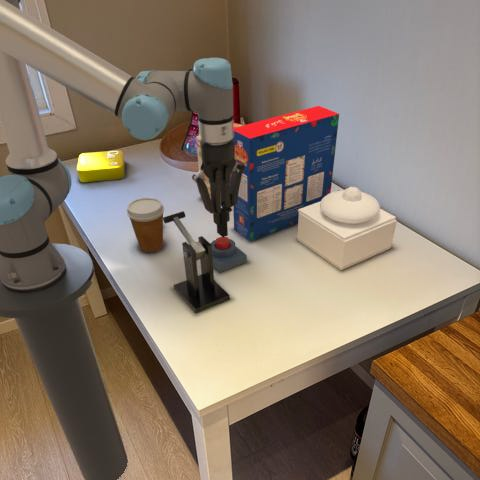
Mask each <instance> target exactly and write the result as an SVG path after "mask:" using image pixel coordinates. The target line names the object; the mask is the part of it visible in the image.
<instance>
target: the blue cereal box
mask: <svg viewBox="0 0 480 480" xmlns="http://www.w3.org/2000/svg"><path fill="white" fill-rule="evenodd" d="M339 119H340V113H339V112H336V111H333V110H331V109H329V108H326V107H323V106H320V105H316V106H312V107H308V108H303V109H301V110H297V111H293V112H289V113H284V114H282V115H278V116H274V117H270V118H265V119H263V120H259V121H255V122H251V123H248V124H247V123H246V124H242V125H243V126H239V127H235V128H234V137H233V139H234V144H235V156H234V158H235V160H236V162H239V163H241V164H242V165H244V166H245V169H244V172H243V174H242V176H241V182H240V187H239V193H238V198H237V204H236V206H232V207H233V208H232V211H233V230H234V231H235V232H236V233H238V234H239V235H241V236H242V237H243V238H244V239H246V241H248V242H250V243H252V242H254V241H257V240H259V239H262V238H265V237H267V236H270V235H272V234H276V233H277V232H280V231H283V230H285V229H289V228H291V227H293V226H295V225H298V218H299V212H298V209H301V208H304V207H306V206H309V205H312V204H315V203H317V202H320V201H321V200H322V199H323V198H324V197H325V196H326V195H328V194H330V193H332V185H333V184H332V183H333V174H334V166H335V158H336V157H335V156H336V149H337V139H338V130H339Z"/></svg>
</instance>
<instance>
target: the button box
mask: <svg viewBox="0 0 480 480" xmlns="http://www.w3.org/2000/svg"><path fill="white" fill-rule="evenodd" d="M215 240H216V239H214V240H212V241H211V242H209V243H210V244H211V245H212V256H213V268H214V269H216V270H217V272H219V273H222V272H225V271H227V270H231V269H233V268H235V267H238V266H240V265H243V264H246V263H247V262H248V260H247V259H248V258H247V257H248V256H247V254H246V253H245V252H244V251H242V250H241V249H240V248H239V247H238V246H237V245H236V242H235V241H234V240H233V239H230V238H229V240H230V247H229V248H228V249H224V250H220V249H217V248H216V245H215Z"/></svg>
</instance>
